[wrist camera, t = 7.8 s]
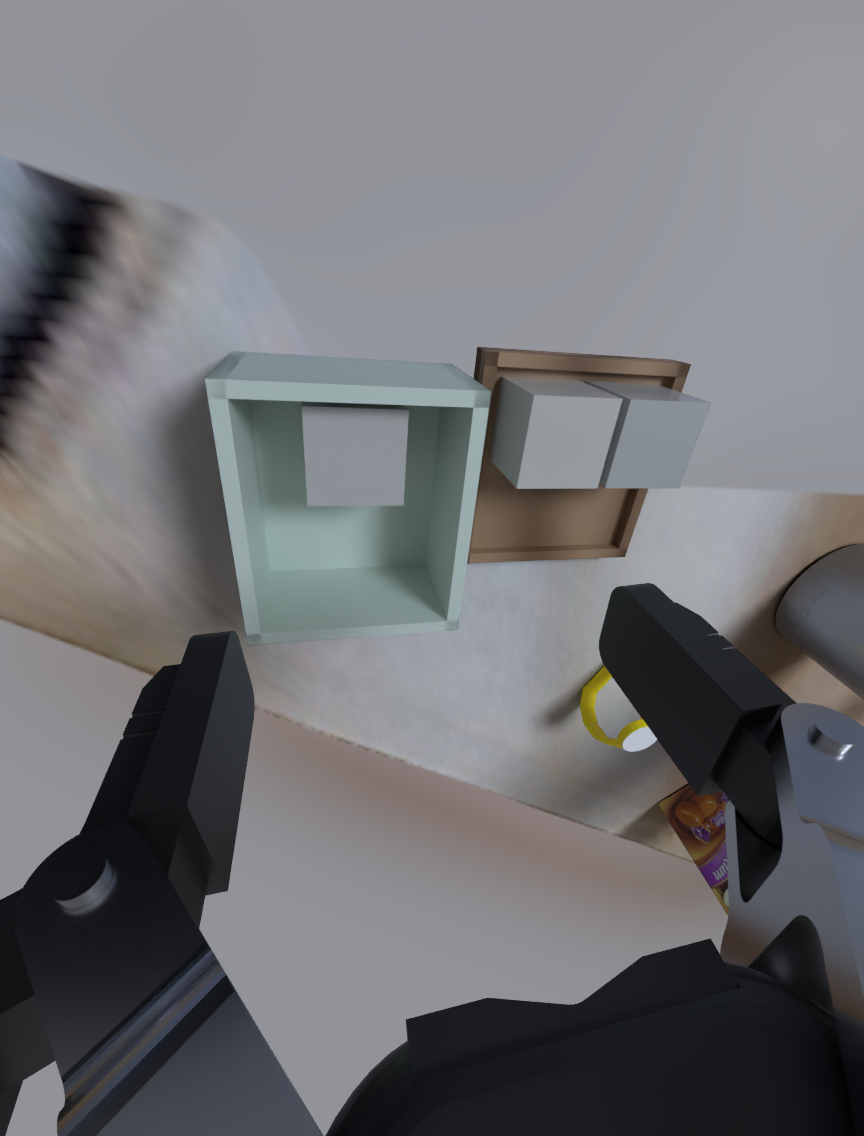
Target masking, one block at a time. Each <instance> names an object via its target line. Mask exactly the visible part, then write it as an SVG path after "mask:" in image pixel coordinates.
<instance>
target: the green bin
mask: <svg viewBox="0 0 864 1136" xmlns="http://www.w3.org/2000/svg"><path fill="white" fill-rule="evenodd" d="M205 384H206V390H207V396H208V402H209V408H210V414H211V421H212V427H213V433H214V439H215V445H216V451H217V458H218V464H219V470H220V476H221V482H222V488H223V495H224V501H225V507H226V513H227V519H228V525H229V532H230V538H231V544H232V550H233V556H234V562H235V569H236V575H237V581H238V587H239V593H240V599H241V606H242V612H243V618H244V624H245V630H246V636H247V643H248V645H256V644H270V643H285V642H299V641H313V640H327V639H341V638H355V637H369V636H383V635H397V634H411V633H425V632H439V631H453V630H458V624H459V617H460V610H461V603H462V596H463V589H464V582H465V574H466V567H467V560H468V553H469V546H470V539H471V532H472V525H473V518H474V511H475V504H476V497H477V490H478V483H479V475H480V468H481V461H482V454H483V447H484V440H485V433H486V426H487V419H488V412H489V405H490V398H491V391H490V390H489V389H487V388H486V387H484V386H483V385H482V384H480V383H479V382H477V381H476V380H474V379H473V378H471V377H470V376H468V375H467V374H466V373H464V372H463V371H461V370H460V369H458V368H457V367H455V366H454V365H452V364H441V363H425V362H407V361H389V360H373V359H355V358H338V357H320V356H303V355H285V354H268V353H250V352H233V351H232V352H231V353H230V354H229V355H228V356H227V357H226V358H225V359H224V360H223V361H222V362H221V363H220V364H219V365H218V366H217V367H216V368H215V369H214V370H213V371H212V372H211V373H210V374H209V375H208V376H207V377H206V378H205ZM302 401H305V402H333V403H360V404H388V405H406V406H407V408H408V409H409V419H408V436H407V453H406V471H405V488H404V506H307V491H306V474H305V457H304V440H303V423H302Z"/></svg>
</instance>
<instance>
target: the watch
mask: <svg viewBox="0 0 864 1136" xmlns="http://www.w3.org/2000/svg"><path fill="white" fill-rule="evenodd" d="M611 677H612V676H611V674H610V673H609V671H608V670H607V669H606V667H605V666H603V667H602V668H601V670H600V671H599V672H598V673H597V674H596V675H595V676H594V677H593V678H592V679H591V680H590V681H589V682H588V683H587V685H586V686H583V690H582V695H581V701H580V705H581V706H580V709H581V714H582V719H583V722H584V725H585V726H586V728H587V729H588V731H589V732H590V734H591V735H592V736H593V737H594V738H595V739H597V740H599V741H601V742H603V743H605V744H607V745H611V746H615V747H618V748H623V749H624V750H626V751H629V752H635V751H640V750H643V749H645V748H647V747H649V746H651V745H652V744H653V743H654V742H655V741H656V740H657V738H656V737H655V735H654V734H653V733H652V731H651V730H650V728H649V727H648V726H647V724H646V723H645V722H644V720H643V719H642V717H641V719H640V720H636V721H634V722H632V723H630V724H628V725H627V726H625V727H624V728H623V729H622V730H621V731H620V733H619V735H618V738H616V739H611V738H609V737H607V736H606V735H605V733H604V732H603V731H602V729H601V728H600V727H599V725H598V723H597V719H596V714H595V710H594V707H595V701H596V694H597V692H598V691H599V690H600V689H601V688H602V687H603V686H604V685H605V684H606V683H607V682H608V681H609V680H610V679H611Z"/></svg>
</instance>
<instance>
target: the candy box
mask: <svg viewBox="0 0 864 1136" xmlns="http://www.w3.org/2000/svg"><path fill="white" fill-rule="evenodd" d="M728 802H729V799H728V797H727V796H726V795H725V793H724V792H723V791H720V792H716V793H711V794H706V795H701V796H698V795H697V794H696V793H695V791H694V790H693V788H692V787H691V786H690V784H689V785H687V786H686V787H684V788H683V789H681V790H679V791H678V792H676V793H675V794H673V795H671V796H670V797H668V798H666V799H664V800H663V801H661V802H659V803H658V805H659V807H660V808H661V810H662V812H663V813H664V815H665V816H666V818H667V819H668V821H669V823H670V824H671V826H672V827H673V829H674V831H675V832H676V834H677V835H678V837H679V838H680V840H681V842H682V843H683V845H684V847H685V848H686V850H687V851H688V853H689V854H690V856H691V858H692V859H693V861H694V862H695V864H696V865H697V867H698V869H699V870H700V872H701V873H702V875H703V877H704V878H705V880H706V881H707V883H708V884H709V886H710V888H711V889H712V891H713V892H714V894H715V896H716V897H717V899H718V901H719V902H720V904H721V905H722V907H723V909H724V910H725V912H726V914H727V915H728V914H729V894H728V872H727V850H726V828H725V809H726V806H727V804H728Z"/></svg>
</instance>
